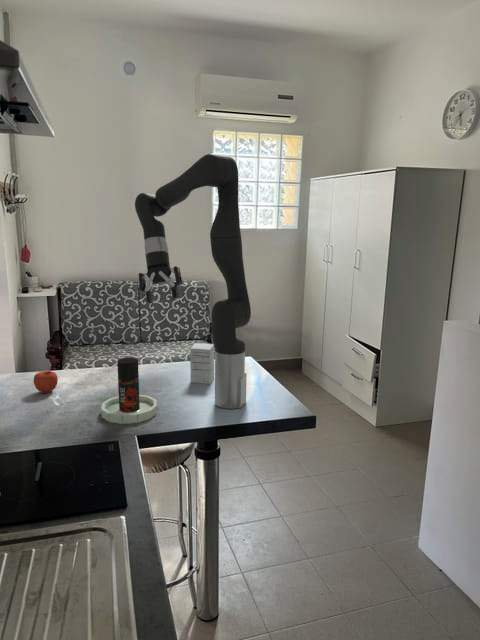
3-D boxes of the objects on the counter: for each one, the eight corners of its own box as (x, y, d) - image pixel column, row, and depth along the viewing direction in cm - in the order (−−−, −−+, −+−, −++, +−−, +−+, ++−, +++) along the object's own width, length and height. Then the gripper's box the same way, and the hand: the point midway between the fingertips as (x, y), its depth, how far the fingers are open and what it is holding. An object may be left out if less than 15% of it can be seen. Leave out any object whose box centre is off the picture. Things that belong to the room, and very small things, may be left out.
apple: (36, 389, 162) (34, 366, 160) (59, 387, 164) (57, 364, 162) (33, 397, 155) (31, 373, 153) (57, 395, 157) (56, 371, 155)
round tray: (166, 405, 150) (165, 398, 149) (141, 426, 135) (140, 418, 134) (120, 399, 154) (119, 392, 154) (90, 419, 139) (90, 411, 139)
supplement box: (194, 376, 177) (194, 342, 175) (214, 377, 176) (214, 343, 174) (189, 382, 170) (189, 348, 168) (210, 384, 169) (210, 349, 167)
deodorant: (142, 405, 147) (140, 358, 144) (136, 413, 141) (134, 363, 138) (123, 404, 147) (121, 357, 144) (116, 412, 142) (114, 363, 138)
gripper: (132, 254, 158) (137, 303, 157) (172, 246, 155) (178, 296, 154) (142, 258, 166) (147, 305, 164) (180, 251, 162) (187, 298, 161)
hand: (162, 301), depth 159 cm, fingers open, 8 cm apart
